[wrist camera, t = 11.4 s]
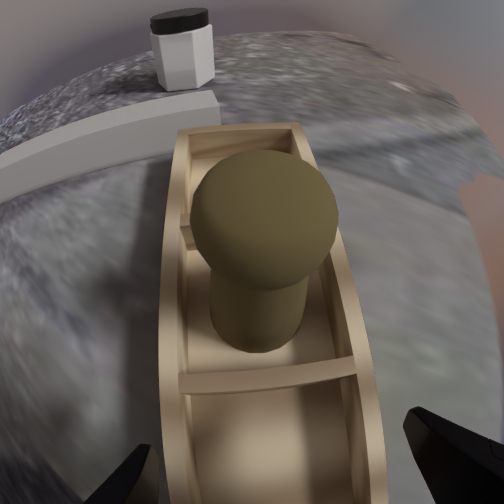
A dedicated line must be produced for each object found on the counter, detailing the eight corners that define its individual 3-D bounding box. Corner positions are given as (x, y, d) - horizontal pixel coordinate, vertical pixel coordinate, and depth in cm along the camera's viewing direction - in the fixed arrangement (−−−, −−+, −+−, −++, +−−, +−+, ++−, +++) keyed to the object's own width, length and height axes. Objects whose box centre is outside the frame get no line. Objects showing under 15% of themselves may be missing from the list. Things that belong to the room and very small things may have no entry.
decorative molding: (11, 178, 31) (-18, 214, 24) (1, 153, 28) (-32, 186, 21) (215, 122, 35) (223, 149, 28) (211, 89, 32) (219, 105, 25)
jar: (183, 68, 40) (177, 8, 30) (223, 73, 38) (221, 6, 28) (148, 89, 36) (135, 22, 26) (189, 95, 34) (180, 18, 24)
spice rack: (363, 508, 11) (388, 525, 8) (193, 530, 11) (181, 554, 7) (294, 155, 27) (299, 122, 24) (184, 161, 26) (177, 129, 23)
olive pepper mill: (322, 306, 18) (392, 188, 9) (257, 373, 16) (273, 318, 6) (255, 250, 20) (262, 111, 11) (190, 306, 18) (133, 184, 8)
